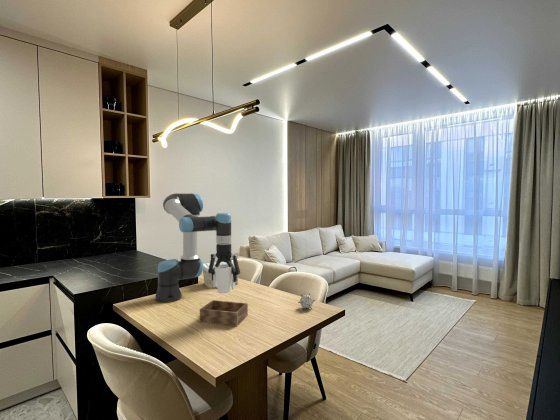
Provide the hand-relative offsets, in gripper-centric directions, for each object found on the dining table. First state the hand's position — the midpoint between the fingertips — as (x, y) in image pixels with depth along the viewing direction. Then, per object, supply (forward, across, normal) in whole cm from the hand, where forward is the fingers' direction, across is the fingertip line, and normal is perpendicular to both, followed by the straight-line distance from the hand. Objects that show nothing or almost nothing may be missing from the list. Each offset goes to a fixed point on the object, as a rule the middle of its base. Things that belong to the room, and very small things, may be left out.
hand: (224, 287), depth 153 cm
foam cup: (+2, 0, 0) cm, 2 cm away
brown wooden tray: (+16, 0, 0) cm, 16 cm away
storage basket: (+16, -30, +57) cm, 67 cm away
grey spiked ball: (+16, +38, +25) cm, 48 cm away
